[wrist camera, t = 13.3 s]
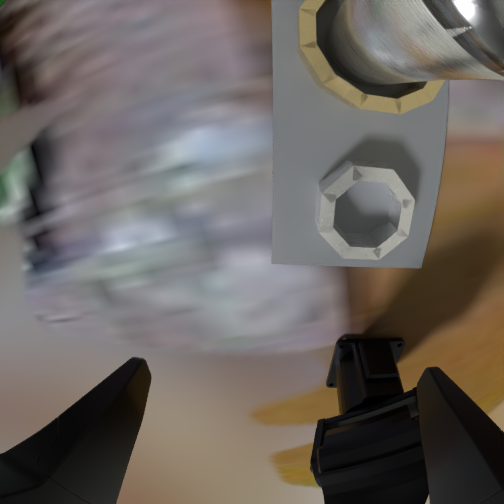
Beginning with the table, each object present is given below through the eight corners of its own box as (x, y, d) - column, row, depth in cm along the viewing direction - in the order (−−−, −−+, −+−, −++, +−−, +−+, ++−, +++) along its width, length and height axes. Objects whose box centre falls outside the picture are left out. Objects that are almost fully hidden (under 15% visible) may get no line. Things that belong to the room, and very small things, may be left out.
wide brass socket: (428, 120, 15) (447, 124, 12) (297, 103, 15) (300, 104, 13) (425, 2, 11) (443, -8, 9) (295, -20, 11) (296, -37, 9)
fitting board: (416, 261, 20) (420, 268, 19) (272, 256, 21) (271, 263, 20) (437, 7, 11) (443, 4, 10) (271, -20, 12) (270, -26, 11)
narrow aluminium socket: (393, 246, 19) (402, 260, 17) (313, 242, 19) (316, 257, 18) (406, 165, 16) (419, 172, 14) (319, 156, 17) (323, 163, 15)
